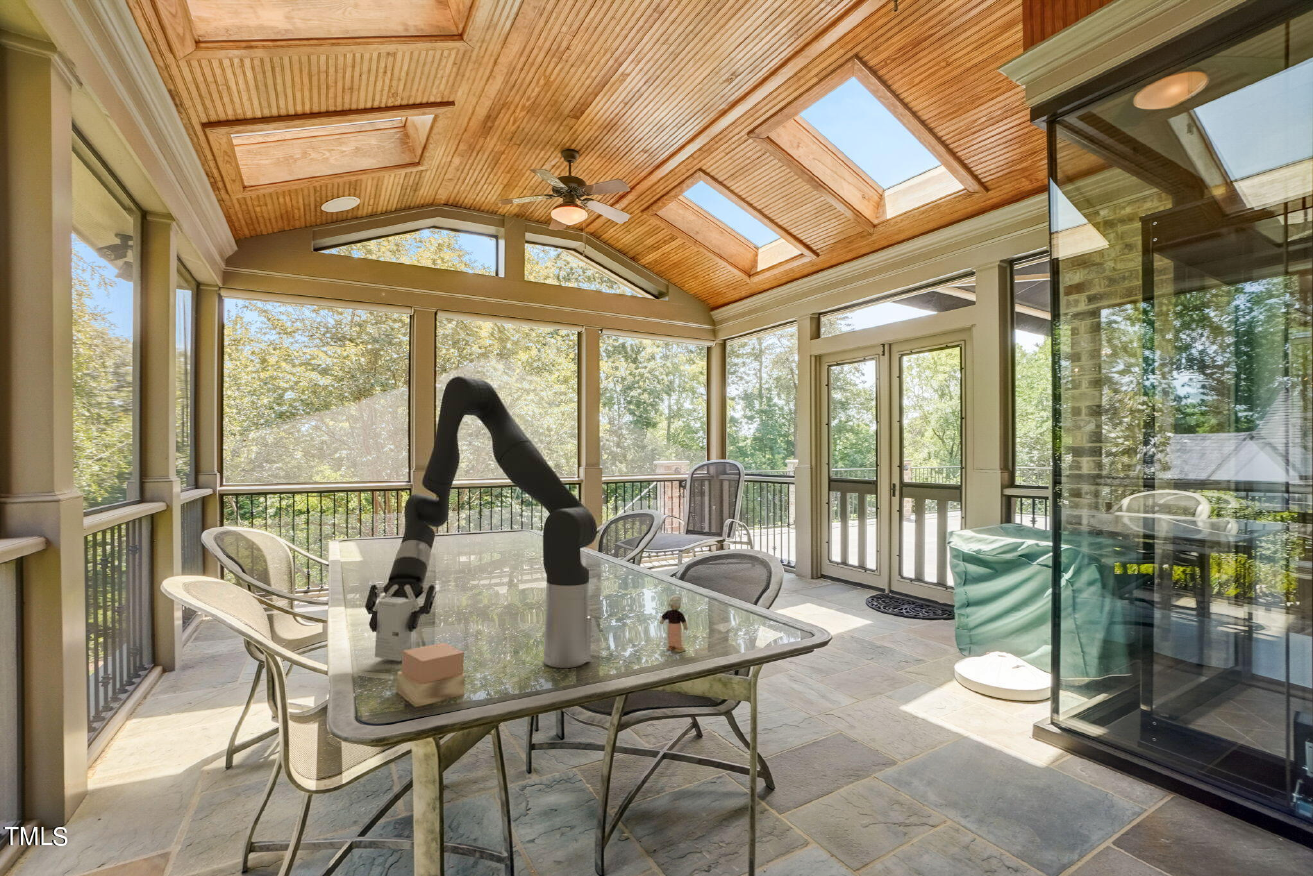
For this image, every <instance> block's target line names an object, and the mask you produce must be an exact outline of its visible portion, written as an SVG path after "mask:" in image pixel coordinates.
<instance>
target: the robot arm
mask: <svg viewBox="0 0 1313 876" xmlns="http://www.w3.org/2000/svg"><path fill="white" fill-rule="evenodd" d="M465 416H474V417H476V418H477V419H478V420H479V421H480V422H481V423H482V424H483V425H484V426H485V428H486V429H487V431H488V432H489V435H490V437H491V444H492V453H493V457H494V459H495V462H496V464H497V465H498V466H499V467H500V469H501V470H502V472H503V473H504V475H505V476H506V477H507V478H508V479H509V481H511V483H512V484H513V485H515V486H516V487H517V488H518V489H520V490H521V491H522V492H523V493H525V494H526V495H528V496H529V497H531V498H532V499H534V500H535V501H537V503H538V504H540V505H541V506H542V507H543V508H544V509H545V510H546V511H547V512H548V516H547V517H546V519H545V521H544V525H543V531H542V557H543V558H542V559H543V560H542V561H543V563H542V564H543V569H544V571H545V575H546V583H545V584H546V585H545V586H546V589H545V591H546V592H545V617H544V618H545V620H544V642H543V643H544V644H543V646H544V647H543V648H544V649H543V663H544V664H545V665H546V666H549V667H552V668H561V669H565V668H566V669H567V668H568V669H569V668H575V667H580V666H582V665H585V664H586V663H589V662H591V646H592V617H591V616H589V594H590V593H589V590H590V589H589V588H590V571H589V568H588V567H587V566H584V565H583V564H582V562H581V561H582V560H581V549H582V548H586V547H588V546H591V544H593V543H594V542H595V540H596V537H597V534H598V526H597V520H596V519H595V517H594V515H593V514H592V513H591V511H590V510H589V509H588V508H587V507H586V506H585V505H584V504H583V503H582V502H581V501H580V500H579V499H578V498H577V497H576V495H575V494H573V493H572V492H571V490H570V489H569V488H568V486H566V485H565V484H564V482H563V481H562V480H561V478H560V477H559V476H558V475H557V473H556V472H555V471H554V470H553V468H552V466H551V465H550V463H548V462H547V460H546V459H545V457H543V454H541V452H540V450H538V448H537V447H536V445H535V444H534V443H533V442H532V441H531V439H530V438H529V437H528V436H527V435H526V433H525V432H524V431H523V430H522V428H521V427H520V425H519V424H518V423H517V421H515V419H514V418H513V417H512V415H511V414H510V413H509V411H508V409H507V408H506V406H505V405H504V402H503V401H502V399H501V398H500V396H499V394H498V392H497V391H496V389H495V388H494V387H493V385H492V384H491V383H490V382H489V381H487V380H485V379H482V378H479V377H472V376H471V377H470V376H462V375H459V376H458V375H457V376H454V377H452V378H451V379H450V380H449V381H448V382H447V383H446V385H445V387H444V390H443V394H442V398H441V403H440V409H439V415H438V420H437V425H436V432H435V436H434V437H435V438H434V442H433V443H434V444H433V448H432V451H431V455H430V457H429V460H428V462H427V466H426V469H425V472H424V474H423V476H422V477H423V478H422V480H421V483H422V484H421V485H422V486H423V487H424V488H425V490H427V491H429V492H431V493H432V494H434V495H435V496H437V497H433V496H430V495H427V494H426V495H425V494H423V493H422V494H421V493H414V494H412V495H410V496H409V497H408V498H407V500H406V502H405V505H404V510H403V511H404V513H403V514H404V532H403V535H402V540H401V542H400V546H399V548H398V550H397V551H396V555H395V558H394V561H393V563H392V567H391V569H390V572H389V576H388V580H387V583H386V584H385V585H384V586H377V585H376V584H372V585H371V586H370V587H369V588H370V589H369V591H368V595H367V598H366V602H365V605H364V607H365V609H366V612H367V614H368V615H371V616H370V620H369V622H368V626H369V629H370V630H371V632H372V633H376V629H377V613H378V603H377V602H378V599H379V598H380V597H381V595H382V594H383V593H384V595H383V596H382V597H381V598H380V599H379V600H382V599H385V598H388V597H401V598H407V599H413V612H412V613H411V617H410V620H409V624H408V630H409V632H411V633H413V632H414V630H416V629H417V628H418V625H419V621H420V617H421V616H422V615H429V614H431V611H432V609H433V608H432V607H433V604H434V601H435V597H436V594H437V592H436V587H435V585H434V584H430V585H429V586H424V583H425V580H426V575H427V572H428V569H429V567H430V560H431V555H432V554H431V553H432V549H433V545H434V543H435V542H434V541H435V539H436V538H435V537H436V532H435V530H434V529H433V528H440V527H442V526H444V524H445V523H447V520H448V518H449V516H450V515H449V514H450V513H449V511H450V495H451V489H452V485H453V482H454V480H455V478H456V474H457V472H458V468H459V465H460V460H461V459H460V448H459V442H458V441H459V440H458V437H459V436H458V435H459V429H460V425H461V424H462V422H463V419H464V417H465ZM423 594H424V600H423V605H420V604H419V603H418V601H417V599H419V597H421V596H422V595H423Z"/></svg>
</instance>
